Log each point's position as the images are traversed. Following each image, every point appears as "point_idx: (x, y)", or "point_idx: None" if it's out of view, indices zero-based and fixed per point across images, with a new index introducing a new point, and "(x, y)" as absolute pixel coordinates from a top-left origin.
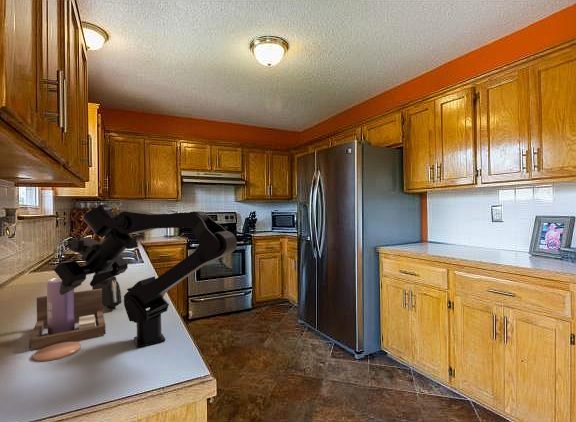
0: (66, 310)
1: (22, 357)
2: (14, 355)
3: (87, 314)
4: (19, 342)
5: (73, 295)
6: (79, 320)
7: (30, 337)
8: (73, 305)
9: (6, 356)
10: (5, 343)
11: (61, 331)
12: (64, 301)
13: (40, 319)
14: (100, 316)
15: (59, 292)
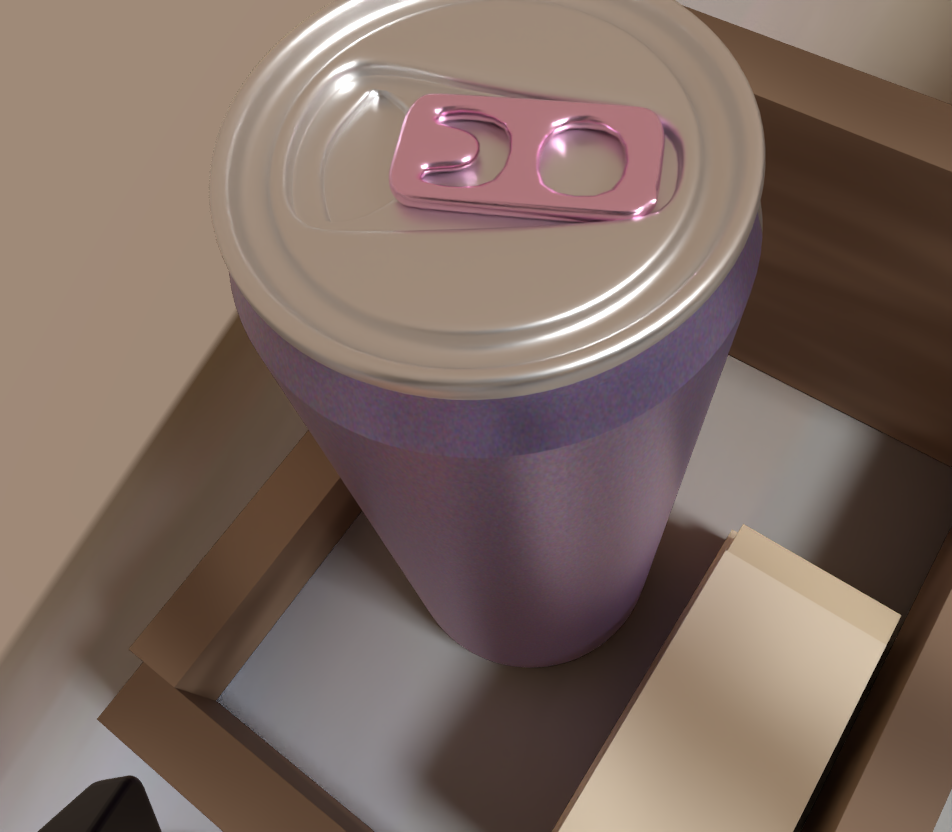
0: (495, 611)
1: (19, 821)
2: (48, 689)
3: (911, 400)
4: (270, 409)
5: (648, 506)
6: (643, 694)
7: (158, 623)
8: (625, 567)
9: (25, 641)
10: (230, 329)
11: (463, 642)
12: (456, 567)
13: None
14: (934, 718)
15: (100, 787)
